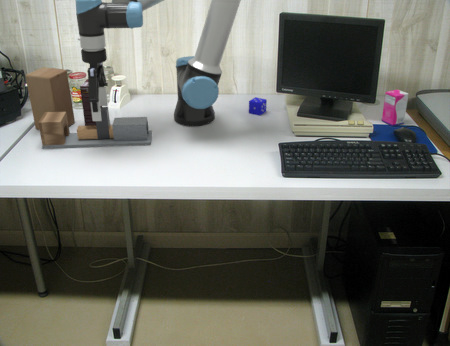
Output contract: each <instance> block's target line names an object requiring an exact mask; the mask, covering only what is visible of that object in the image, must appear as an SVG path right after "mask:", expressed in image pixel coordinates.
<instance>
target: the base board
mask: <svg viewBox="0 0 450 346" xmlns="http://www.w3.org/2000/svg"><path fill="white" fill-rule="evenodd" d="M148 130H149V134H147V137H148V140H145V141H114V138H110V139H78V136H77V132H70V134H69V136H65V141H66V142H65V144H64V145H42V144H41V147H42V149H45V150H46V149H48V150H49V149H73V148H74V149H77V148H78V149H81V148H104V147H107V148H109V147H136V146H139V147H140V146H151V144H152V143H151V142H152V135H153V130H150V129H148Z"/></svg>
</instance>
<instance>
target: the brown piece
mask: <svg viewBox="0 0 450 346" xmlns="http://www.w3.org/2000/svg"><path fill="white" fill-rule="evenodd" d="M100 109H101V118H102V121H96V125H90V126H85V125H78V126H77V128H76V133H77V136H78V139H110V138H114V136H113V128H112V124H111V121H110V120H111V119H110V112H109V106H102V107H100Z"/></svg>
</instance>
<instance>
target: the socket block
mask: <svg viewBox="0 0 450 346" xmlns="http://www.w3.org/2000/svg"><path fill="white" fill-rule="evenodd" d="M38 125H39V129H38V130H39V133H40V135H39V136H40V139H41V143H42V144H41V146H42V145H64V144H65V142H66V141H65V136H69V134H70V133H71V132H70V126H69V125H68V119H67V113H66V112H45V113H44V115H43V116H42V118H41V119H40V121H39V122H38Z"/></svg>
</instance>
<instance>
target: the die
mask: <svg viewBox="0 0 450 346" xmlns="http://www.w3.org/2000/svg"><path fill="white" fill-rule="evenodd" d="M266 112H267V98H266V99H265V98H261V97H253V98H252V99H250V100H249V101H248V114H251V115H255V116H262V115H263V114H265V113H266Z"/></svg>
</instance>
